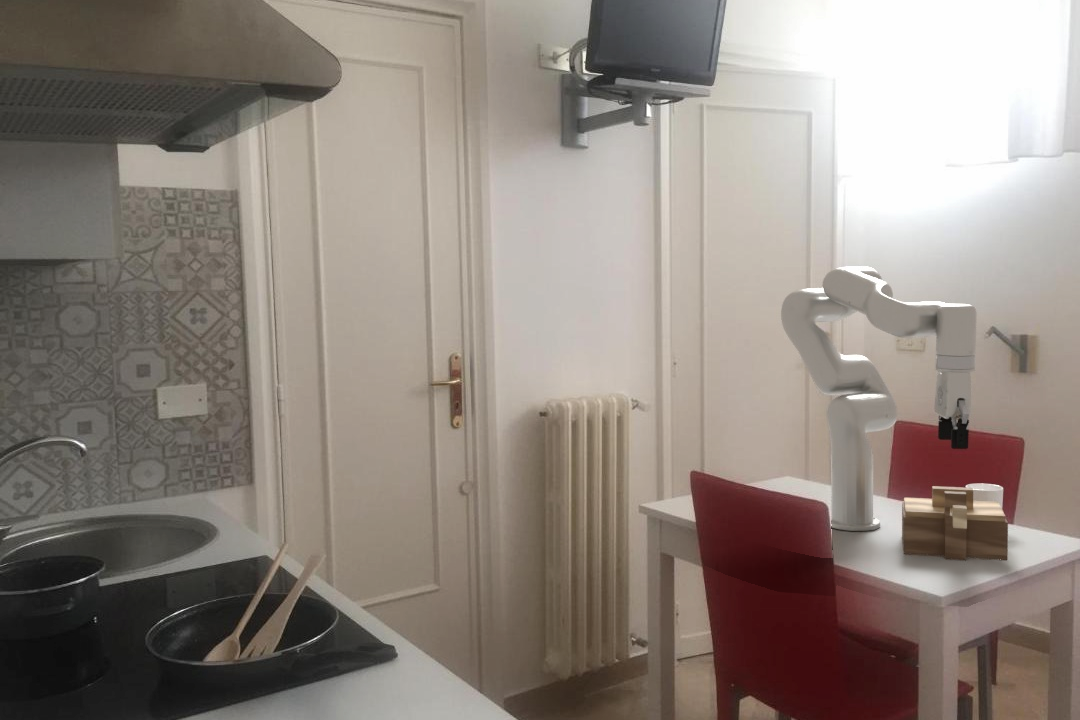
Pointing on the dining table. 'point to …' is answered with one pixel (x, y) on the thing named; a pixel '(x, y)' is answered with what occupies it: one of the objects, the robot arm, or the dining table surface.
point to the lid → (937, 507)
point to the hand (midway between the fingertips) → (952, 443)
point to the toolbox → (954, 535)
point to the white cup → (987, 492)
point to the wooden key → (959, 516)
